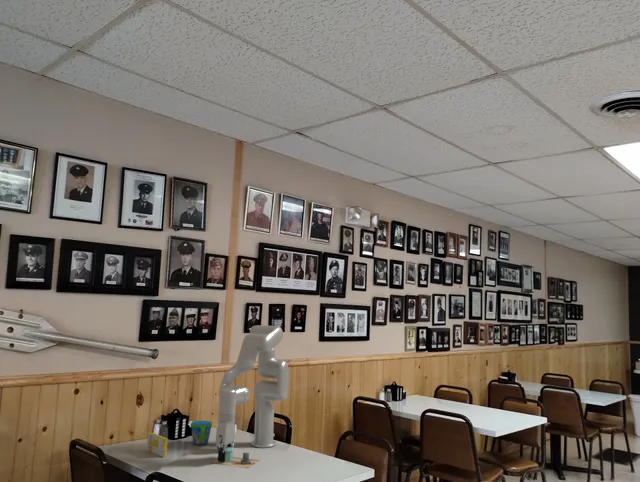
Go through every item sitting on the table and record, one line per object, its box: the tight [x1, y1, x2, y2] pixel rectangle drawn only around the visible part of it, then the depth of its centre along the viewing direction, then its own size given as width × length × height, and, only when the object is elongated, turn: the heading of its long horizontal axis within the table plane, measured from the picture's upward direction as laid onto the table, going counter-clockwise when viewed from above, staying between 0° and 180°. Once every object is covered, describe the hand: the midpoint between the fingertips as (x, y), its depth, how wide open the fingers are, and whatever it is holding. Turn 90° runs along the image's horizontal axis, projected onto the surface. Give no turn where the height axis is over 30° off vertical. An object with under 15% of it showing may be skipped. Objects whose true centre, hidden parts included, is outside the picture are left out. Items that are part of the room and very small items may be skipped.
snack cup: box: [190, 420, 213, 446], centre depth 264 cm, size 16×10×10 cm
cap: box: [222, 447, 234, 463], centre depth 232 cm, size 6×6×5 cm
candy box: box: [146, 431, 169, 458], centre depth 245 cm, size 16×2×8 cm, turn 45°
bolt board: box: [210, 452, 261, 469], centre depth 230 cm, size 12×18×6 cm, turn 73°
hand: (225, 458), depth 231 cm, fingers closed on cap, 6 cm apart
